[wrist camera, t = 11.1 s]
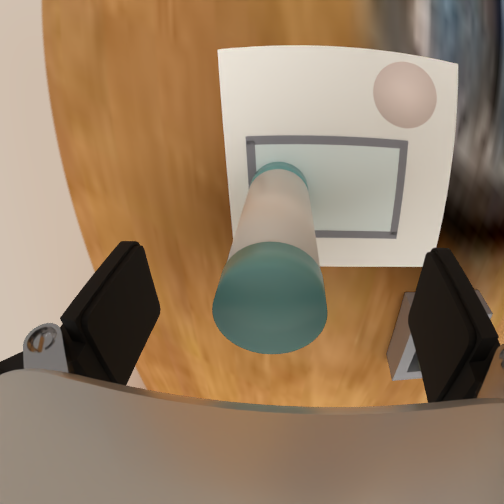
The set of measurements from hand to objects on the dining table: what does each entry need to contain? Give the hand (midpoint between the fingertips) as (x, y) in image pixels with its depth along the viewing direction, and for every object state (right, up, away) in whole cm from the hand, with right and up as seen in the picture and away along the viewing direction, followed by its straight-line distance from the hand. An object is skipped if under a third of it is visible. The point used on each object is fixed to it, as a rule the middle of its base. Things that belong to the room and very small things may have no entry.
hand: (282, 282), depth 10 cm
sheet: (+4, +6, +8) cm, 11 cm away
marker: (+1, +5, +9) cm, 10 cm away
